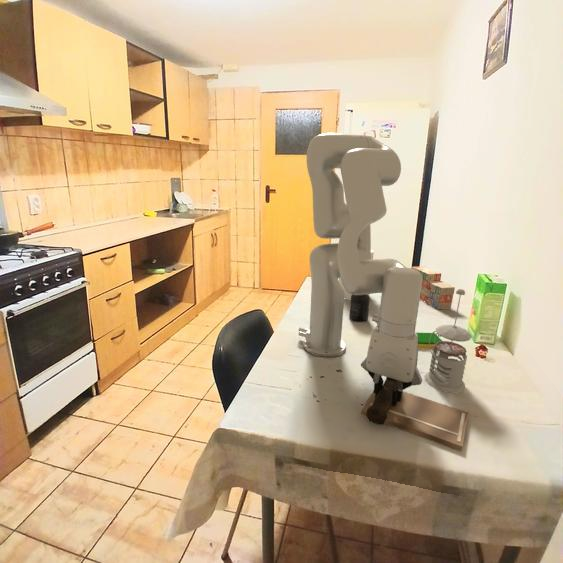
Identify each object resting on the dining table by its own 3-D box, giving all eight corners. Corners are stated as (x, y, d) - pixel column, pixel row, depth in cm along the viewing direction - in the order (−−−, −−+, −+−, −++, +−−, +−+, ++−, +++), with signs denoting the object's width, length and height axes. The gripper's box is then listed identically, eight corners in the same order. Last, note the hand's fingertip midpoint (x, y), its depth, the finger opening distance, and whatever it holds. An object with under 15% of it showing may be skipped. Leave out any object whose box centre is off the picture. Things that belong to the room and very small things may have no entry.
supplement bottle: (371, 321, 127) (375, 289, 123) (355, 323, 125) (358, 291, 121) (361, 314, 133) (363, 283, 129) (345, 316, 131) (347, 285, 127)
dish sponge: (391, 338, 115) (392, 331, 114) (433, 339, 115) (434, 332, 114) (398, 349, 108) (398, 341, 107) (443, 349, 108) (444, 342, 107)
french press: (441, 395, 85) (459, 297, 78) (411, 370, 96) (425, 282, 88) (474, 389, 88) (495, 294, 80) (442, 365, 98) (457, 279, 91)
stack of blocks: (451, 309, 140) (456, 279, 136) (437, 310, 139) (442, 280, 135) (420, 292, 160) (424, 265, 156) (408, 292, 159) (411, 266, 155)
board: (361, 414, 78) (361, 409, 77) (377, 387, 88) (378, 383, 87) (461, 451, 68) (462, 446, 67) (467, 416, 78) (468, 411, 77)
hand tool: (384, 429, 71) (387, 409, 70) (365, 421, 73) (367, 402, 72) (406, 384, 87) (409, 367, 86) (390, 379, 89) (392, 362, 88)
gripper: (353, 322, 76) (346, 395, 81) (434, 342, 68) (421, 422, 73) (364, 311, 82) (357, 380, 87) (441, 328, 74) (428, 403, 79)
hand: (386, 399), depth 80 cm, fingers closed on hand tool, 3 cm apart
